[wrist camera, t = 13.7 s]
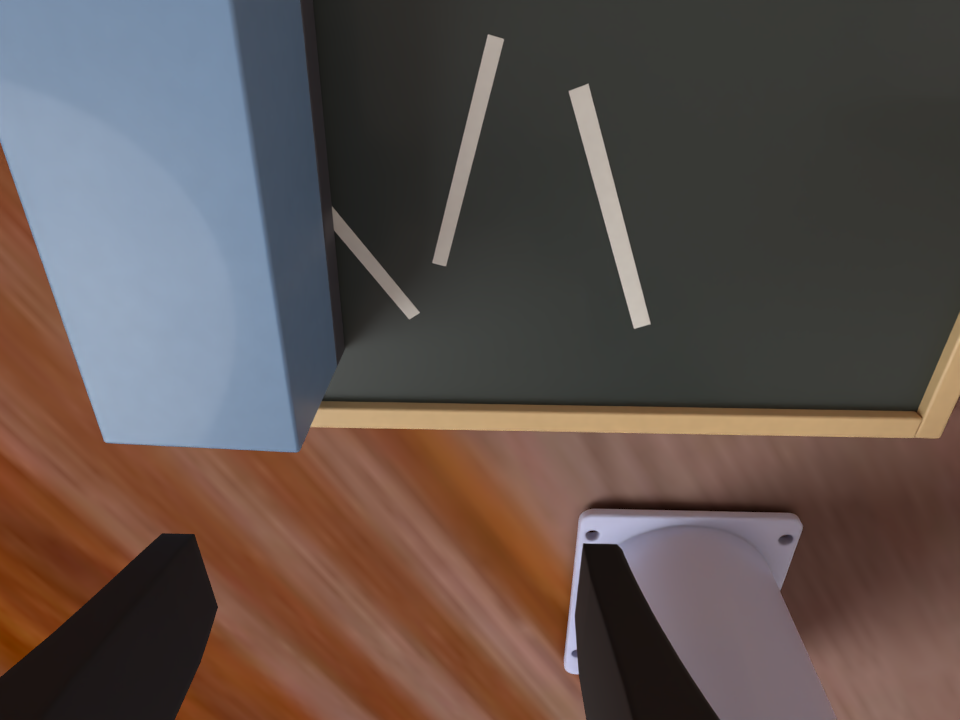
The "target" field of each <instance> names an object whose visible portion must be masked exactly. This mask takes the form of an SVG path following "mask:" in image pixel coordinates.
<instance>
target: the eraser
mask: <svg viewBox="0 0 960 720" xmlns="http://www.w3.org/2000/svg"><path fill="white" fill-rule="evenodd" d="M0 142H1V145H2V148H3V151H4V154H5V157H6V160H7V162H8V165H9V168H10V171H11V174H12V177H13V180H14V183H15V185H16V188H17V191H18V194H19V197H20V200H21V203H22V206H23V209H24V211H25V214H26V217H27V220H28V223H29V226H30V229H31V232H32V235H33V237H34V240H35V243H36V246H37V249H38V252H39V255H40V258H41V260H42V263H43V266H44V269H45V272H46V275H47V278H48V281H49V284H50V286H51V289H52V292H53V295H54V298H55V301H56V304H57V307H58V309H59V312H60V315H61V318H62V321H63V324H64V327H65V330H66V333H67V335H68V338H69V341H70V344H71V347H72V350H73V353H74V356H75V358H76V361H77V364H78V367H79V370H80V373H81V376H82V379H83V382H84V384H85V387H86V390H87V393H88V396H89V399H90V402H91V405H92V407H93V410H94V413H95V416H96V419H97V422H98V425H99V428H100V431H101V433H102V436H103V439H104V441H105V442H106V443H115V444H136V445H156V446H176V447H197V448H217V449H237V450H258V451H278V452H299V451H300V449H301V447H302V444H303V442H304V440H305V438H306V435H307V433H308V431H309V429H310V426H311V424H312V422H313V420H314V417H315V415H316V413H317V410H318V408H319V406H320V404H321V401H322V399H323V397H324V395H325V392H326V390H327V388H328V386H329V383H330V381H331V379H332V377H333V374H334V372H335V370H336V367H337V366H338V364H339V362H340V360H341V357H342V355H343V353H344V350H345V345H344V334H343V323H342V312H341V301H340V290H339V280H338V269H337V258H336V247H335V236H334V225H333V214H332V204H331V193H330V182H329V171H328V160H327V149H326V138H325V128H324V117H323V106H322V95H321V84H320V73H319V62H318V51H317V41H316V30H315V19H314V8H313V0H0Z"/></svg>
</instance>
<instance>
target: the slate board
mask: <svg viewBox="0 0 960 720" xmlns="http://www.w3.org/2000/svg"><path fill="white" fill-rule="evenodd" d="M313 8H314V19H315V30H316V41H317V51H318V62H319V73H320V84H321V95H322V106H323V117H324V128H325V138H326V149H327V160H328V171H329V182H330V193H331V204H332V214H333V225H334V236H335V247H336V258H337V269H338V280H339V290H340V301H341V312H342V323H343V334H344V345H345V350H344V353H343V355H342V357H341V360H340V362H339V364H338V366H337V367H336V370H335V372H334V374H333V377H332V379H331V381H330V383H329V386H328V388H327V390H326V392H325V395H324V397H323V399H322V401H321V404H320V406H319V408H318V410H317V413H316V415H315V417H314V420H313V422H312V424H311V426H310V427H334V428H389V429H443V430H498V431H553V432H607V433H662V434H717V435H771V436H826V437H881V438H914V437H916V438H940V437H941V435H942V433H943V430H944V428H945V426H946V424H947V422H948V420H949V418H950V415H951V413H952V411H953V409H954V407H955V405H956V402H957V400H958V398H959V396H960V0H313Z"/></svg>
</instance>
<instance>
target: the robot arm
mask: <svg viewBox="0 0 960 720" xmlns="http://www.w3.org/2000/svg"><path fill="white" fill-rule="evenodd" d="M802 529H803V525H802V523H801V521H800V519H799V517H798V516H797V515H795V514H793V513H775V512H728V511H682V510H636V509H588V510H586V511H584V512H583V513H581V514H580V517H579V523H578V532H577V541H576V551H575V560H574V570H573V579H572V588H571V598H570V607H569V616H568V626H567V635H566V644H565V654H564V667H565V670H566V671H567V672H569V673H571V674H579V678H580V684H581V690H582V696H583V702H584V708H585V714H586V720H837V718H836V716H835V713H834V711H833V709H832V707H831V704H830V702H829V700H828V698H827V695H826V693H825V691H824V689H823V686H822V684H821V682H820V680H819V678H818V675H817V673H816V671H815V669H814V666H813V664H812V662H811V660H810V657H809V655H808V653H807V651H806V648H805V646H804V644H803V642H802V639H801V637H800V635H799V633H798V631H797V628H796V626H795V624H794V622H793V619H792V617H791V615H790V613H789V610H788V608H787V606H786V604H785V601H784V599H783V597H782V595H781V592H780V591H781V588H782V585H783V582H784V580H785V577H786V574H787V571H788V568H789V566H790V563H791V560H792V557H793V554H794V552H795V549H796V546H797V543H798V541H799V538H800V535H801V532H802ZM591 530H595V532H591V533H590V532H588V531H591ZM783 535H785V536H783ZM781 536H782V537H781ZM217 608H218V606H217V603H216V600H215V597H214V594H213V590H212V587H211V584H210V581H209V578H208V575H207V572H206V569H205V566H204V563H203V560H202V557H201V554H200V550H199V547H198V544H197V541H196V538H195V535H194V534H161V535H160V536H159V537H158V538H157V539H155V540H154V541H153V542H152V543H151V544H150V545H149V546H148V547H147V548H146V549H144V550H143V551H142V552H141V553H140V554H139V555H138V556H137V557H136V558H135V559H134V560H133V561H131V562H130V563H129V564H128V565H127V566H126V567H125V568H124V569H123V570H122V571H121V572H120V573H119V574H117V575H116V576H115V577H114V578H113V579H112V580H111V581H110V582H109V583H108V584H107V585H106V586H104V587H103V588H102V589H101V590H100V591H99V592H98V593H97V594H96V595H95V596H94V597H93V598H91V599H90V600H89V601H88V602H87V603H86V604H85V605H84V606H83V607H81V608H80V609H79V610H78V611H77V612H76V613H75V614H74V615H73V616H71V617H70V618H69V619H68V620H67V621H66V622H65V623H64V624H63V625H61V626H60V627H59V628H58V629H57V630H56V631H55V632H54V633H52V634H51V635H50V636H49V637H48V638H47V639H45V640H44V641H43V642H42V643H41V644H39V645H38V646H37V647H36V648H35V649H33V650H32V651H31V652H30V653H29V654H28V655H26V656H25V657H24V658H23V659H22V660H20V661H19V662H18V663H17V664H16V665H14V666H13V667H12V668H11V669H10V670H8V671H7V672H6V673H5V674H4V675H3V676H1V677H0V720H175V718H176V715H177V713H178V711H179V709H180V707H181V704H182V702H183V700H184V698H185V696H186V693H187V691H188V689H189V687H190V684H191V682H192V680H193V678H194V675H195V673H196V671H197V669H198V666H199V664H200V662H201V659H202V656H203V653H204V650H205V647H206V644H207V641H208V638H209V635H210V631H211V628H212V625H213V621H214V618H215V615H216V611H217Z"/></svg>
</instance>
